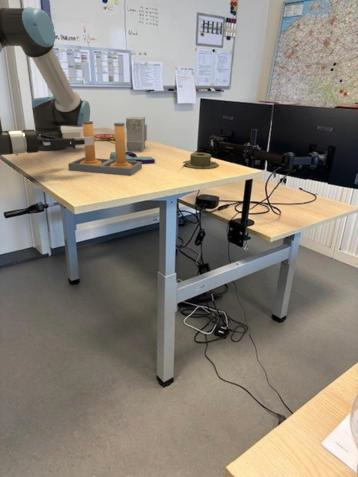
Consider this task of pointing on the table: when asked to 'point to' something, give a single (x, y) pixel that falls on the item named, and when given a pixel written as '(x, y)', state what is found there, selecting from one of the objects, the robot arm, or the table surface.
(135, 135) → the circuit breaker
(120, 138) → the orange capped peg
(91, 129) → the orange joystick peg
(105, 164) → the tray
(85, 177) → the table surface
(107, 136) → the mechanical gear assembly
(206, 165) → the flange
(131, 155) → the pistol
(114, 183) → the table surface
